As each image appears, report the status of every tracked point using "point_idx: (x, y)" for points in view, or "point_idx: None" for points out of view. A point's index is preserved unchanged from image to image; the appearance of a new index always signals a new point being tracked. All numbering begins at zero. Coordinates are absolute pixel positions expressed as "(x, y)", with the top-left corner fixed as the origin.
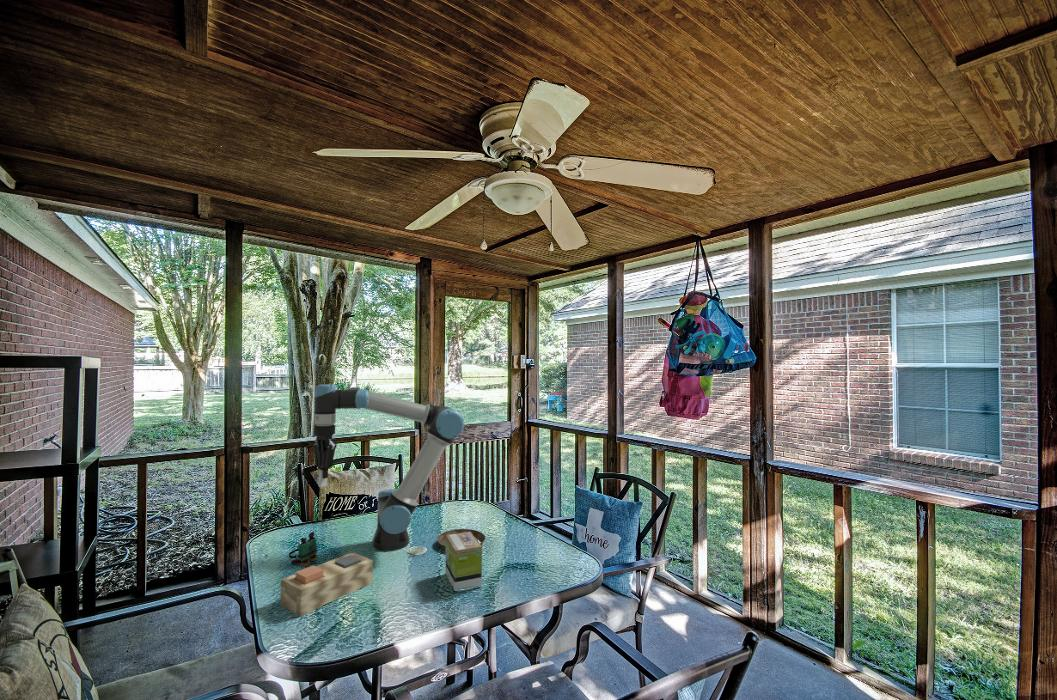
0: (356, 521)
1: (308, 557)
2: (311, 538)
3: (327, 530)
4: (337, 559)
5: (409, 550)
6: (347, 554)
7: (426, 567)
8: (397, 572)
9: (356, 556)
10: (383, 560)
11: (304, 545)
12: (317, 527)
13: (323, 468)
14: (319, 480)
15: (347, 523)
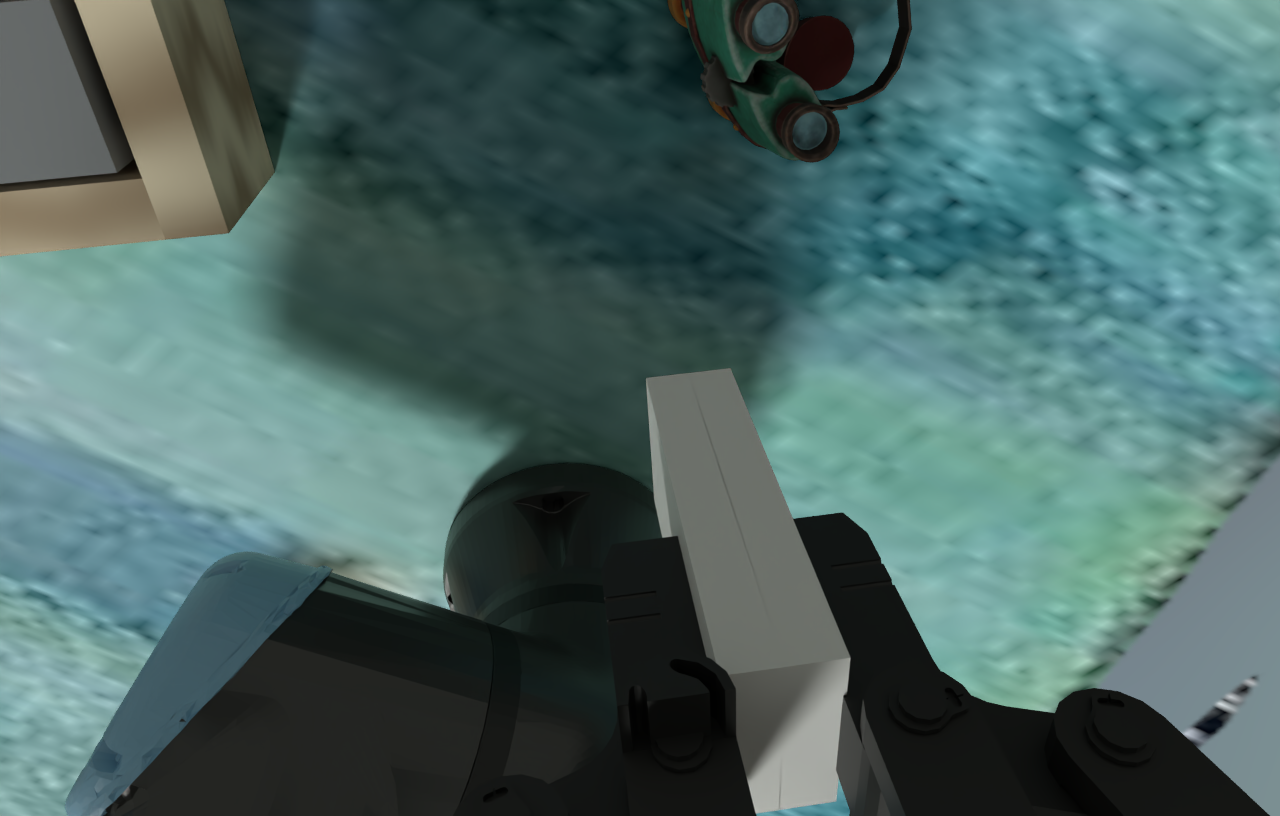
0: (1061, 574)
1: (688, 27)
2: (783, 117)
3: (1113, 400)
4: (134, 56)
5: (385, 579)
6: (202, 179)
7: (64, 534)
8: (100, 391)
9: (102, 211)
10: (352, 418)
11: (718, 5)
12: (1223, 379)
13: (623, 758)
14: (730, 451)
15: (1088, 528)
